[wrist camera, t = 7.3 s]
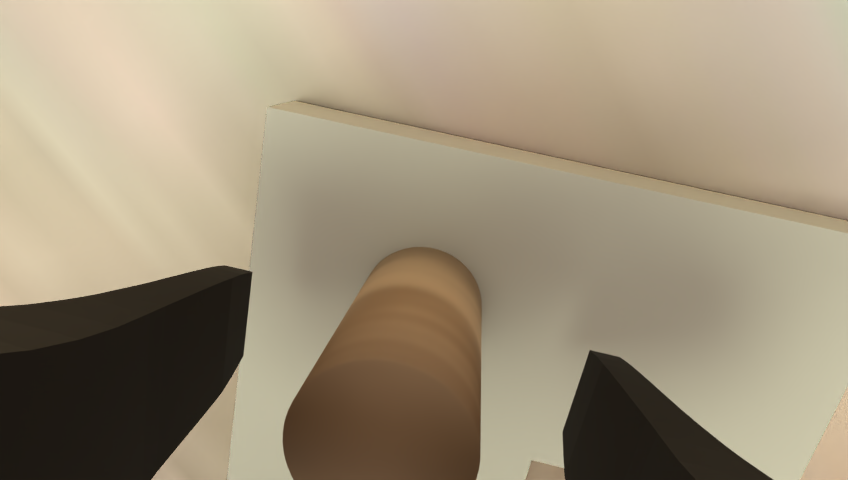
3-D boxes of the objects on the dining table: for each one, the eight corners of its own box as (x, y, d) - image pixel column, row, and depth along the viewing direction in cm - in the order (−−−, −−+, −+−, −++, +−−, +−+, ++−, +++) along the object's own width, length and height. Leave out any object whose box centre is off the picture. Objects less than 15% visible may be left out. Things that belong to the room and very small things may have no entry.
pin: (451, 377, 15) (431, 562, 9) (345, 330, 15) (256, 485, 9) (501, 277, 14) (515, 412, 8) (389, 227, 14) (323, 326, 8)
